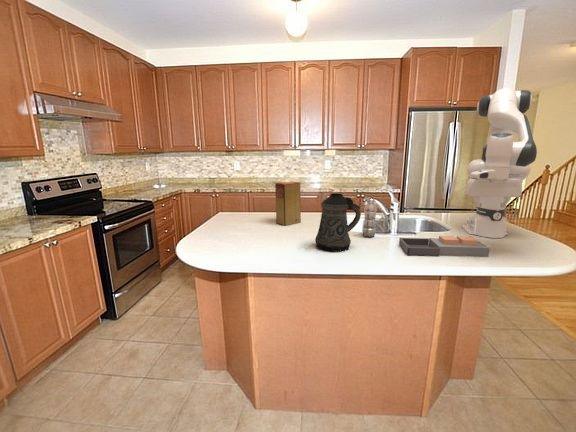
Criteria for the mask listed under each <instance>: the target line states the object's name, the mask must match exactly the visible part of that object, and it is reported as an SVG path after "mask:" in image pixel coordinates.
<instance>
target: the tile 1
mask: <svg viewBox="0 0 576 432" xmlns="http://www.w3.org/2000/svg"><path fill="white" fill-rule="evenodd" d="M438 238H439V241H440V242H441V243H443V244H444V245H459V240H458V239H457V238H456V236H454V235H438Z"/></svg>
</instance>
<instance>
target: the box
mask: <svg viewBox="0 0 576 432" xmlns="http://www.w3.org/2000/svg"><path fill="white" fill-rule="evenodd" d="M398 245H399V247H400V249H402V250H403V252H404V253H405V254H407V255H406V256H412V257H413V256H415V257H440V256H439V253H440V248H431V247H430V246H429V238H426V237H425V238H424V237H423V238H422V237H421V238H418V237H416V238H415V237H399V242H398Z"/></svg>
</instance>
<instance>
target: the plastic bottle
mask: <svg viewBox="0 0 576 432" xmlns="http://www.w3.org/2000/svg"><path fill="white" fill-rule="evenodd" d="M366 202H367V203H365V206H364V208H363V214H364V224H363V229H362V235H363V236H364V237H375V235H376V234H377V233H376V231H377V230H376V229H377V228H376V216H377V211H378V207H377V206H376V203H375V202H376V200H375V198H374V197H367V199H366Z"/></svg>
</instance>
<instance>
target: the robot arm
mask: <svg viewBox="0 0 576 432" xmlns="http://www.w3.org/2000/svg"><path fill="white" fill-rule="evenodd" d="M533 100H534V99H533V95H532V92H531V90H527V89H520V90H514V89H513V88H511V87H504V88H503V87H502V88H500V89H498V90H496V91H495V92H494V93H493V94H487V95H484V96H481V97H480V99H479V100H478V103H477V104H476V105H477V106H476V110H477V113H478V115H479V117H482V118H483V117H484V118H487V121H488V122H489V127H488V133H487V139H486V145H484V146H483V147H482V154H481V157H480V158H478V159H473V160H472V161H470V162H469V164H468V165H467V168H466V173H467V175H468V177H469V179H468V180H467V182H466V186H465V190H464V191H465V192H464V193H465V195H466V196H469V197H473V199H474V202H475V207H476V211H475V213H474V214H472V216H469V217H468V219H466V224H464V225H462V229H464V231H465V232H466V233H467V234H468V235H472V236H479V237H483V238H491V239H492V238H493V239H494V238H495V239H499V238H501V239H502V238H504V237H505V236H508V232H507V231H506V230H507V219H506V218H505V216H506V212H507V211H506V208H507V204H509V202H510V201H511V198H520V197H521V196H522V193H523V181H524V180H526V179H527V177H528V176H529V175H530V173H531V165H532V163H534V162H535V161H536V159H537V155H538V148H537V145H536V143H535V140H534V137H533V132H532V129H531V125H530V122H529V119H528V117H527V114H525V113H526V112H528V111H529V109H530V107H531V106H532V103H533ZM515 133H516V134H517V137H518V141H515ZM530 164H531V165H530Z"/></svg>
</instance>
